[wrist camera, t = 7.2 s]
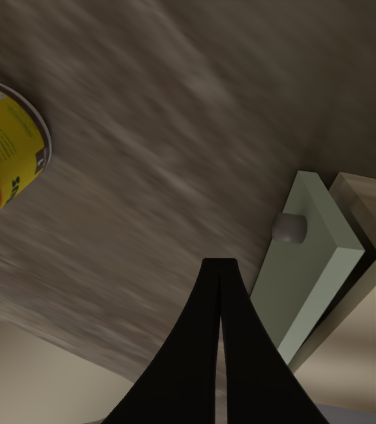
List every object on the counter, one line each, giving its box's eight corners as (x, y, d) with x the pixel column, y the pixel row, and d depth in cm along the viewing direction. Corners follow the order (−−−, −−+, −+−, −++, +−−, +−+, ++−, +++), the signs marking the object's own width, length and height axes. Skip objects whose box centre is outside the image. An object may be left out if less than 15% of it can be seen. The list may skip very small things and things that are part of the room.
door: (259, 307, 22) (270, 390, 17) (232, 303, 22) (235, 385, 17) (316, 172, 15) (365, 250, 10) (276, 167, 15) (304, 242, 10)
